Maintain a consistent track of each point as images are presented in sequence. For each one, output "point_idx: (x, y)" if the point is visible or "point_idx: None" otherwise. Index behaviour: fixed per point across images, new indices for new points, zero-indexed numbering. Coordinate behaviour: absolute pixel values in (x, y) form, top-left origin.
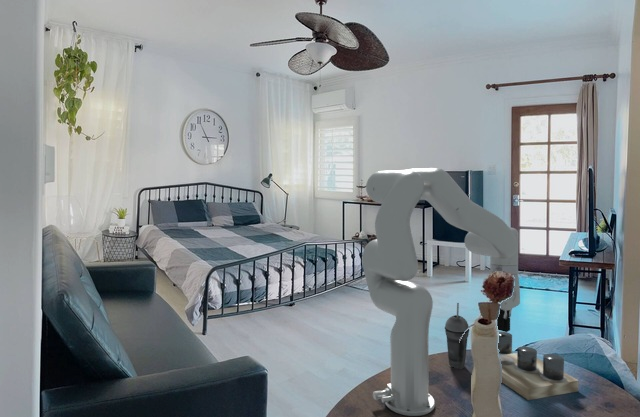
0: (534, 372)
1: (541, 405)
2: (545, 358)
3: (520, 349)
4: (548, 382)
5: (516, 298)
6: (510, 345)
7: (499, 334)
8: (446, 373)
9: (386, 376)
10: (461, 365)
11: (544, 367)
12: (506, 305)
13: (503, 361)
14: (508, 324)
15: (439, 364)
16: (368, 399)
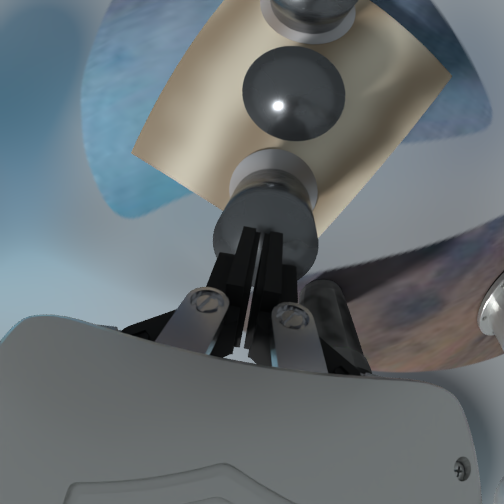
0: None
1: (438, 45)
2: (352, 2)
3: (308, 124)
4: (366, 15)
5: (70, 450)
6: (282, 182)
7: None
8: (381, 299)
9: (430, 363)
10: (335, 287)
11: (341, 18)
12: (446, 442)
13: None
14: (256, 256)
15: None
16: None
